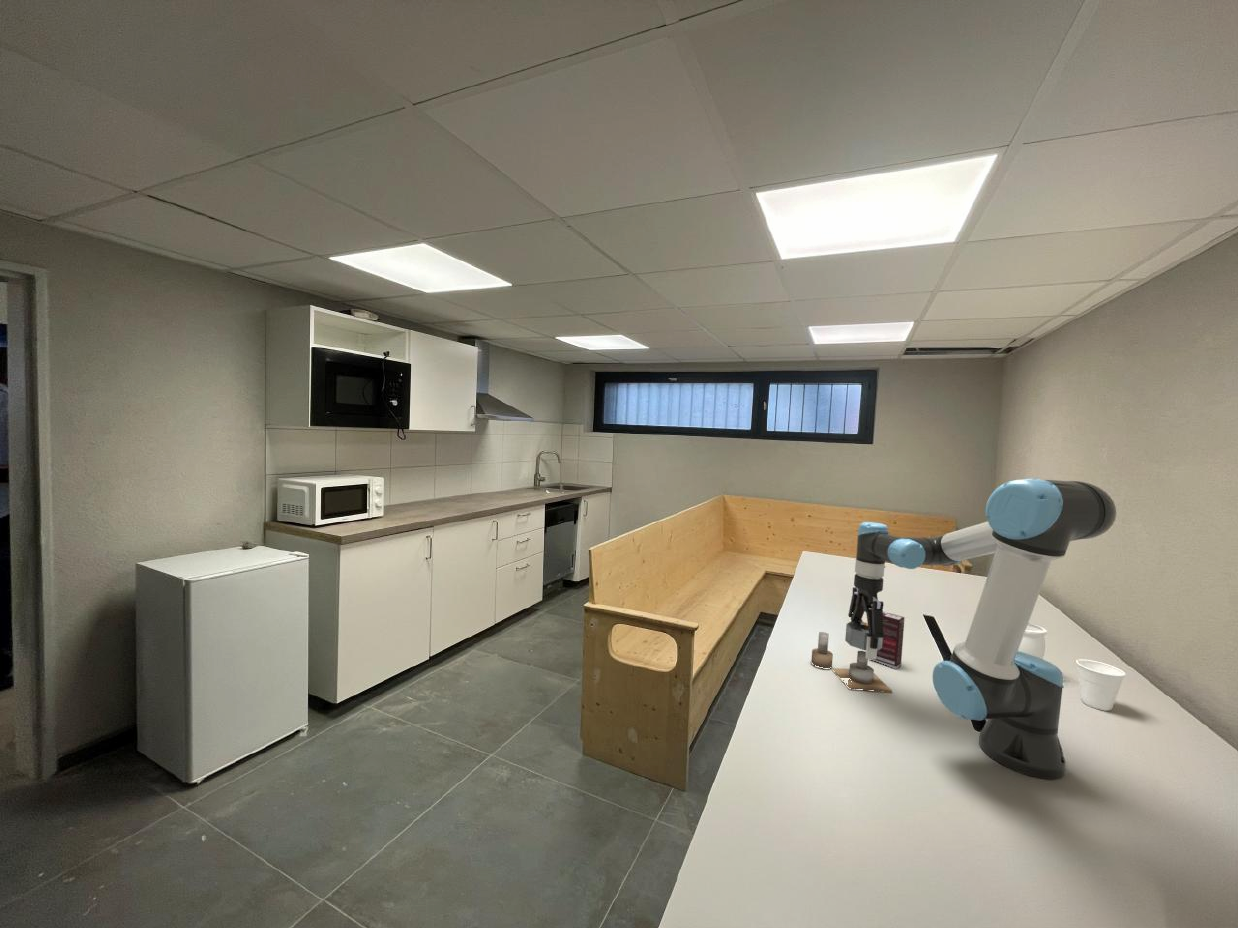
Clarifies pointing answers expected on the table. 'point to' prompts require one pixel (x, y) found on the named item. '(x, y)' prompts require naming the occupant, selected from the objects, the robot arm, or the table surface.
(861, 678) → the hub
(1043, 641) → the jar
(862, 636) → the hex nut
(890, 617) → the supplement box
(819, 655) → the stand
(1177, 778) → the table surface
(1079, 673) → the cup
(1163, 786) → the table surface
